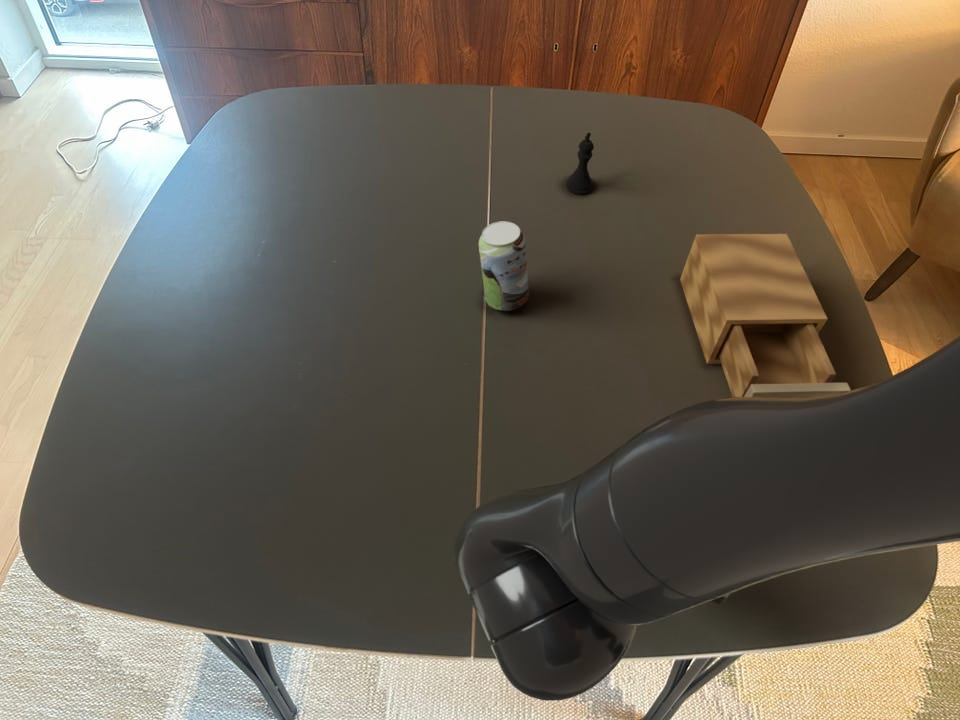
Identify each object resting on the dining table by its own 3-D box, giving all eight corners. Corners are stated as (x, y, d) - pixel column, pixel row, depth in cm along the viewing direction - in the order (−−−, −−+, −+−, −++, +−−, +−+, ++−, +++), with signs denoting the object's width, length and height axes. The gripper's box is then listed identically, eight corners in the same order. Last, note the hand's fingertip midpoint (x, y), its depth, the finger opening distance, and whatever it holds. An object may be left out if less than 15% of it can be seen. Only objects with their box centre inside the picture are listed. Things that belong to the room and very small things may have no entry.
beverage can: (520, 322, 96) (528, 256, 87) (469, 308, 97) (471, 241, 88) (533, 290, 100) (542, 224, 90) (484, 277, 101) (487, 211, 92)
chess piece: (560, 188, 115) (569, 134, 107) (573, 175, 117) (582, 120, 109) (585, 198, 113) (595, 144, 105) (597, 184, 116) (608, 130, 108)
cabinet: (800, 362, 93) (827, 318, 87) (706, 364, 93) (727, 320, 86) (764, 278, 103) (787, 233, 96) (679, 279, 102) (696, 234, 96)
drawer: (841, 459, 83) (868, 427, 78) (746, 461, 82) (767, 429, 77) (788, 333, 95) (808, 298, 90) (705, 334, 95) (720, 299, 89)
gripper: (749, 578, 48) (781, 543, 62) (589, 443, 54) (652, 440, 69) (682, 657, 49) (728, 605, 64) (534, 517, 56) (607, 499, 71)
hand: (689, 520), depth 66 cm, fingers closed on pill bottle, 5 cm apart
